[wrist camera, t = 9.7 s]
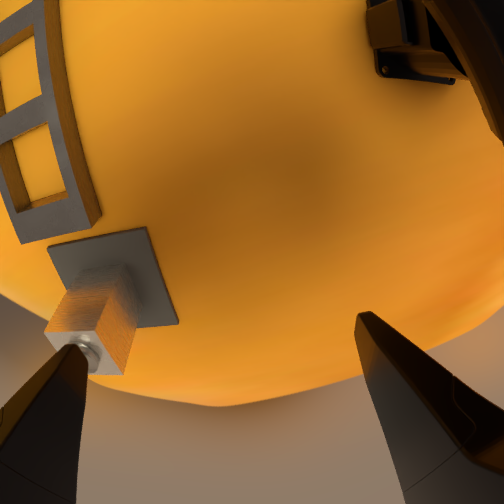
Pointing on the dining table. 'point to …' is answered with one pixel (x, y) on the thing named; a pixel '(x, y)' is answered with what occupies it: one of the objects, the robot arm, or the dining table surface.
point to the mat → (115, 252)
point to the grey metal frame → (61, 129)
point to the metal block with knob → (98, 318)
